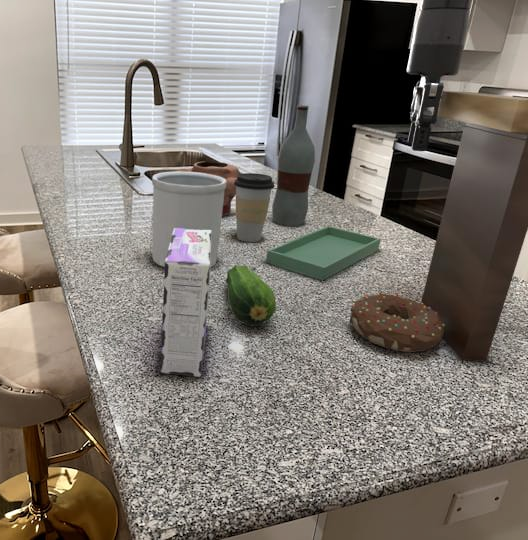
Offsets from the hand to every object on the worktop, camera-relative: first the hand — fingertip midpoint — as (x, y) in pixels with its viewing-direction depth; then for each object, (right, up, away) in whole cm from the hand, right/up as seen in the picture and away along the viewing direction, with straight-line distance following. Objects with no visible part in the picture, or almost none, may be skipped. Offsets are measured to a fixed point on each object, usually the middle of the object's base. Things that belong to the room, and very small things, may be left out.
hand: (416, 147), depth 87 cm
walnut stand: (+3, -31, -5) cm, 32 cm away
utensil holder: (-38, -19, +22) cm, 48 cm away
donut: (-7, -31, -6) cm, 33 cm away
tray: (-7, -18, +27) cm, 33 cm away
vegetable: (-29, -27, +2) cm, 40 cm away
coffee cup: (-22, -13, +37) cm, 46 cm away
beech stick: (+5, +1, -11) cm, 12 cm away
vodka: (-10, -8, +52) cm, 53 cm away
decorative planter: (-31, -5, +57) cm, 65 cm away
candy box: (-40, -33, -12) cm, 53 cm away
